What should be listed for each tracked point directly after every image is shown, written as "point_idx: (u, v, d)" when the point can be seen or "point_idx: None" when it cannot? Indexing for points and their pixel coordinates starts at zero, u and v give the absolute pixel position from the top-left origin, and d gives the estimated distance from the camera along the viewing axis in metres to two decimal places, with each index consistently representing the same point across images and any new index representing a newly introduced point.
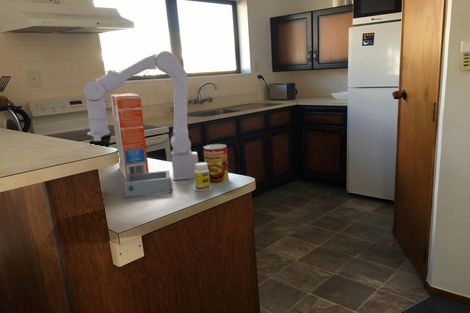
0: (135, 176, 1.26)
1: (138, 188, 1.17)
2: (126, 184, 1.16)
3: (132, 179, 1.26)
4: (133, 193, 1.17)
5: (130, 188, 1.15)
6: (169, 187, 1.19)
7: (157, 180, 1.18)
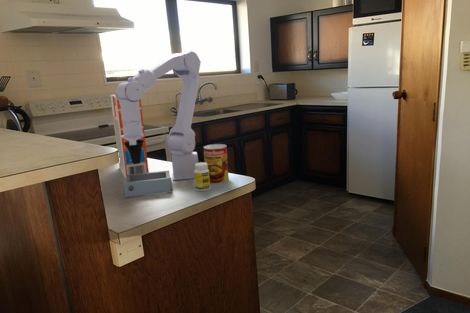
0: (135, 176, 1.26)
1: (138, 188, 1.17)
2: (126, 184, 1.16)
3: (132, 179, 1.26)
4: (133, 193, 1.17)
5: (130, 188, 1.15)
6: (169, 187, 1.19)
7: (157, 180, 1.18)
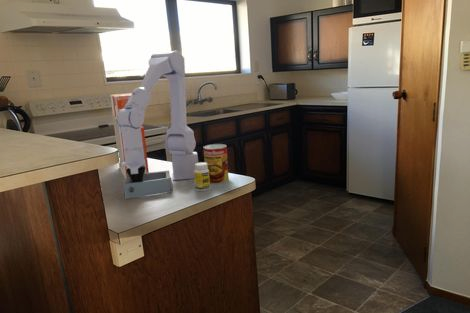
0: None
1: (138, 189, 1.16)
2: (126, 186, 1.14)
3: None
4: (133, 194, 1.15)
5: (131, 189, 1.14)
6: (169, 187, 1.19)
7: (157, 180, 1.17)
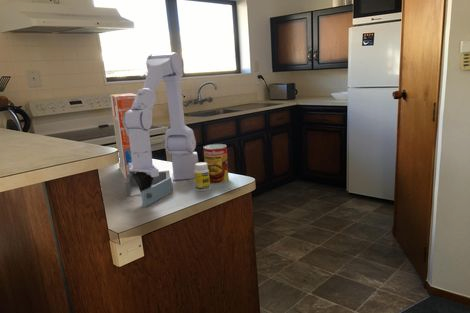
0: None
1: (152, 194, 1.10)
2: (145, 192, 1.07)
3: (132, 179, 1.26)
4: (150, 201, 1.09)
5: (150, 195, 1.08)
6: (171, 187, 1.19)
7: (163, 182, 1.15)
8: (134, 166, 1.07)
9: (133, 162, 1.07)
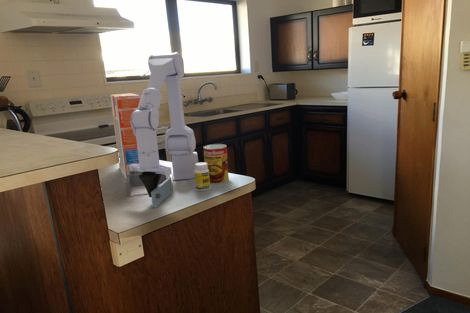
0: (135, 176, 1.26)
1: (159, 194, 1.10)
2: (154, 192, 1.06)
3: (132, 179, 1.26)
4: (158, 201, 1.08)
5: (159, 195, 1.07)
6: (171, 187, 1.19)
7: (166, 182, 1.15)
8: (143, 166, 1.06)
9: (142, 162, 1.06)
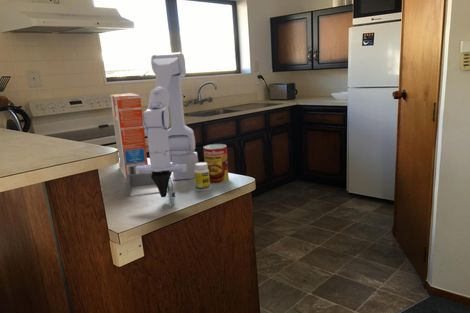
0: (135, 176, 1.26)
1: None
2: (171, 191, 1.06)
3: (132, 179, 1.26)
4: None
5: None
6: None
7: (171, 182, 1.15)
8: (159, 166, 1.05)
9: (157, 162, 1.05)
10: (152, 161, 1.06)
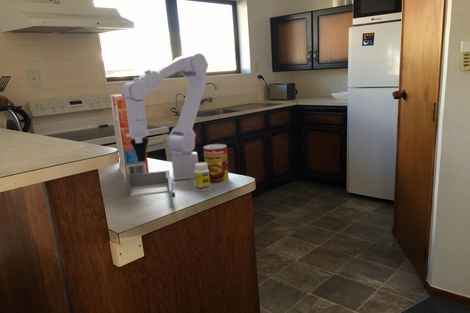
0: (135, 176, 1.26)
1: None
2: None
3: (132, 179, 1.26)
4: None
5: None
6: None
7: (171, 182, 1.15)
8: (129, 132, 1.21)
9: (129, 129, 1.21)
10: None
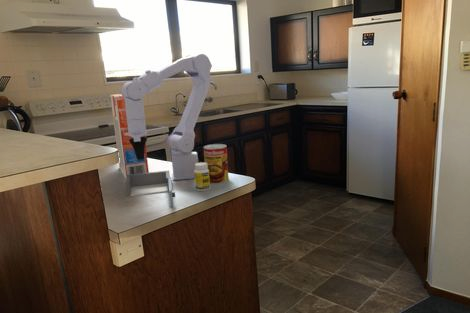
0: (135, 176, 1.26)
1: None
2: None
3: (132, 179, 1.26)
4: None
5: None
6: None
7: (171, 182, 1.15)
8: (128, 131, 1.23)
9: (128, 127, 1.23)
10: None
